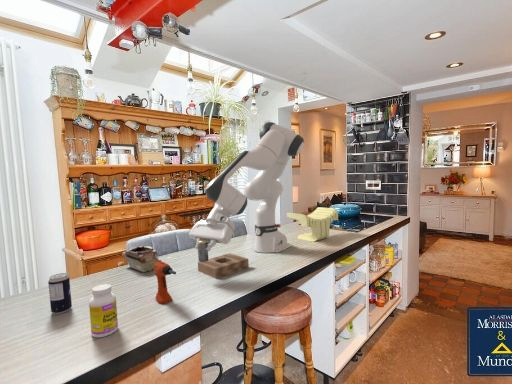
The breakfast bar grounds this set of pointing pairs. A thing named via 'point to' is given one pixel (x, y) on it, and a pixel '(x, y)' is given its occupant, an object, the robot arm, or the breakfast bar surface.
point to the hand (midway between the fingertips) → (201, 249)
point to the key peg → (202, 251)
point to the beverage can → (60, 293)
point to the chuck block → (223, 265)
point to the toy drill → (162, 281)
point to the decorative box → (141, 258)
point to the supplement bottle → (103, 311)
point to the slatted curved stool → (316, 223)
